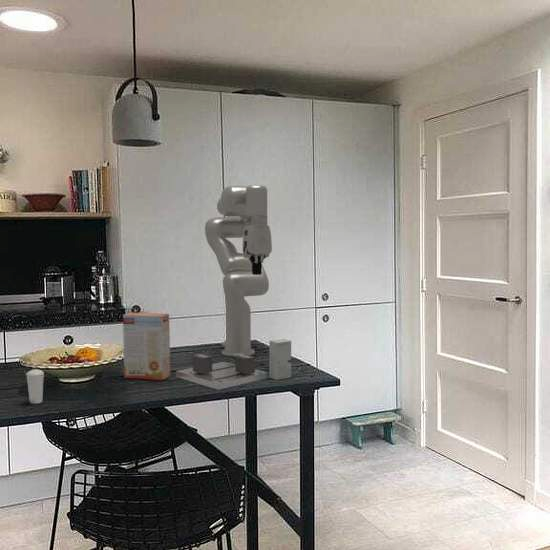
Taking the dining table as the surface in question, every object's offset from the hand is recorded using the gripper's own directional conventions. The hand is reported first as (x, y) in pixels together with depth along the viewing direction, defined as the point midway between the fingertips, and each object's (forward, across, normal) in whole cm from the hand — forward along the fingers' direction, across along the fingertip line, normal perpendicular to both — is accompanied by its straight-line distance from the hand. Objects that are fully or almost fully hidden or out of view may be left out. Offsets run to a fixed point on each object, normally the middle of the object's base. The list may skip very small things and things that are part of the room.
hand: (256, 274), depth 213 cm
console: (+32, -20, -5) cm, 38 cm away
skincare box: (+32, -6, -18) cm, 37 cm away
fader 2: (+30, -16, -12) cm, 36 cm away
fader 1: (+30, -25, -2) cm, 39 cm away
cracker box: (+32, -37, +12) cm, 51 cm away
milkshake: (+32, -75, +9) cm, 82 cm away
